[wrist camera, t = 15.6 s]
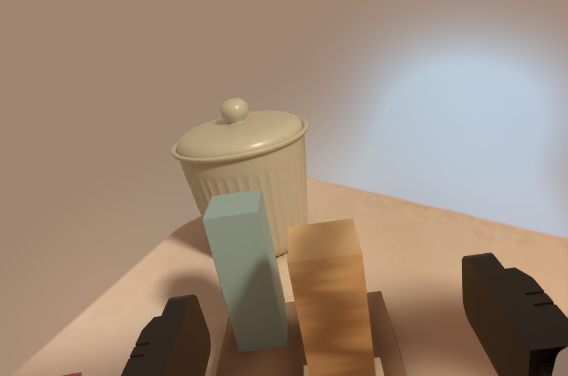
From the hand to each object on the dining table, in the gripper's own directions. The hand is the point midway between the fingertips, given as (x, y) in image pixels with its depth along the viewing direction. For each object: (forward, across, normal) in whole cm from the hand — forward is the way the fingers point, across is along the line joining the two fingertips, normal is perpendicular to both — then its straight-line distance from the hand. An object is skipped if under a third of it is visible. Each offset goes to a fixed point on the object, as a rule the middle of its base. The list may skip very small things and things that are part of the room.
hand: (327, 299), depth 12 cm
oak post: (+13, +1, +20) cm, 24 cm away
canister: (+42, +10, +22) cm, 48 cm away
